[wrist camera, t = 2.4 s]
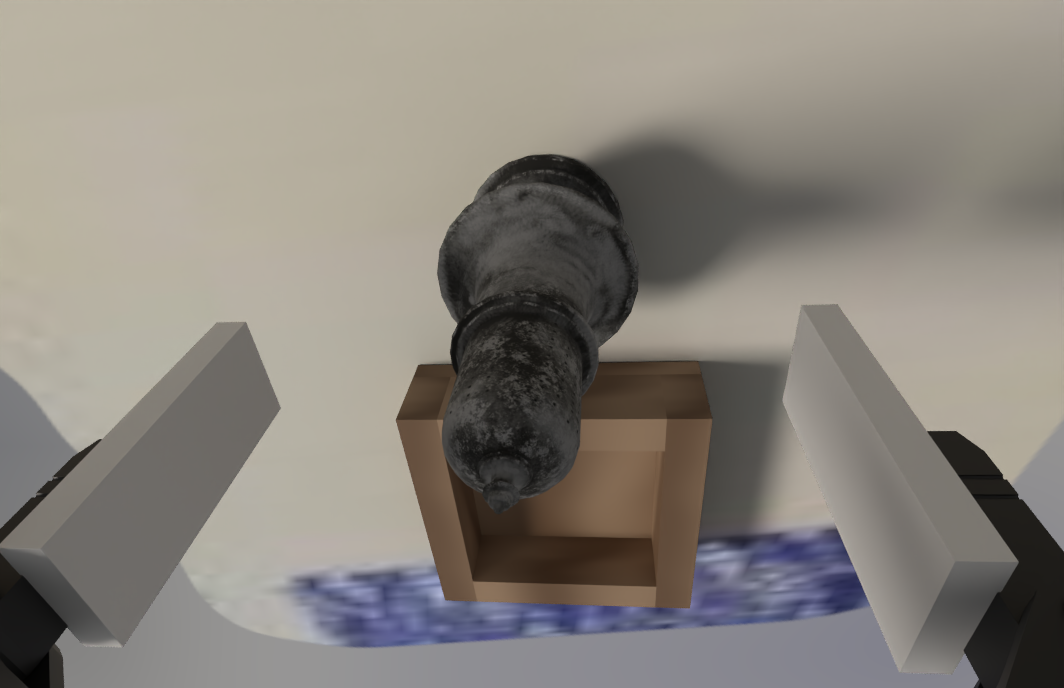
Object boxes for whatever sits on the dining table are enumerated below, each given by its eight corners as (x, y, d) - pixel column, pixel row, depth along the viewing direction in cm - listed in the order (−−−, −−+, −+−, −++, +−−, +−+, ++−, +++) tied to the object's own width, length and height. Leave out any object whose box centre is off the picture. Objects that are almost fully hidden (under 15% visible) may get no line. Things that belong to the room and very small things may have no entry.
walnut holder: (698, 361, 23) (712, 419, 20) (680, 545, 29) (689, 608, 26) (418, 365, 24) (395, 419, 21) (458, 540, 30) (445, 600, 27)
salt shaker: (661, 181, 19) (735, 446, 9) (594, 326, 22) (594, 637, 12) (485, 118, 18) (357, 329, 8) (443, 277, 22) (315, 563, 12)
